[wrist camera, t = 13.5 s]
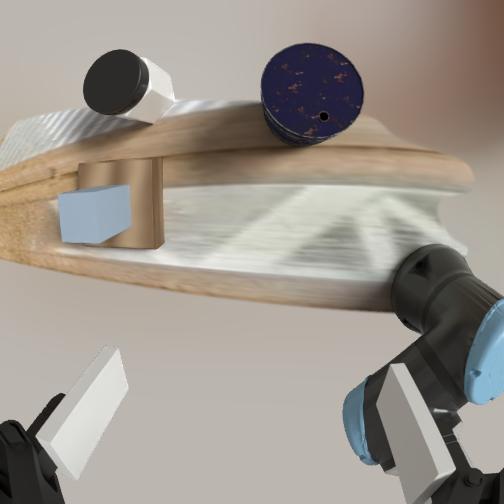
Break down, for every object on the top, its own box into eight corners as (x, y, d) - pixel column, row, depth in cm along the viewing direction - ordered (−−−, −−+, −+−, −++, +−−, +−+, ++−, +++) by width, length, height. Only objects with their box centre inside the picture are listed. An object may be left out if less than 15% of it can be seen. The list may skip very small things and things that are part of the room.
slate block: (129, 184, 39) (95, 191, 30) (131, 226, 40) (99, 243, 32) (95, 186, 39) (57, 194, 30) (97, 226, 41) (62, 242, 32)
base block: (162, 157, 41) (152, 157, 37) (164, 243, 45) (155, 250, 41) (90, 162, 42) (76, 163, 38) (95, 240, 46) (82, 247, 42)
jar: (117, 117, 40) (72, 109, 28) (132, 69, 37) (92, 47, 26) (167, 128, 40) (131, 119, 28) (184, 77, 37) (154, 51, 26)
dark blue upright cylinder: (254, 91, 38) (245, 56, 23) (321, 73, 36) (343, 33, 22) (277, 156, 40) (279, 152, 26) (343, 137, 39) (379, 126, 24)
